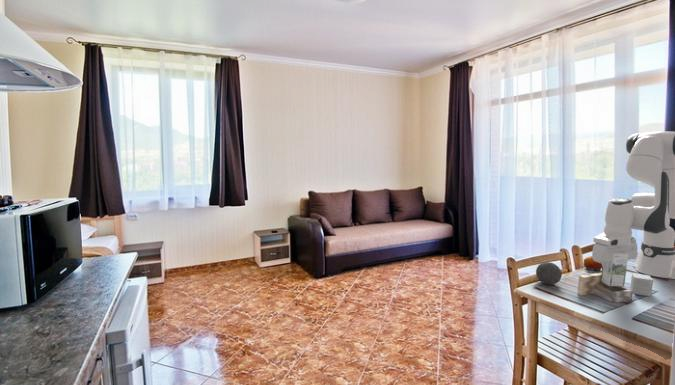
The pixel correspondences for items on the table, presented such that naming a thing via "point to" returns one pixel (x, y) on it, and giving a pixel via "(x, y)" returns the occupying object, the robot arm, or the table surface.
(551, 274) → the decorative ball
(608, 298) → the wooden table
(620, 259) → the syrup box
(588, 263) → the fruit
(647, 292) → the product box
